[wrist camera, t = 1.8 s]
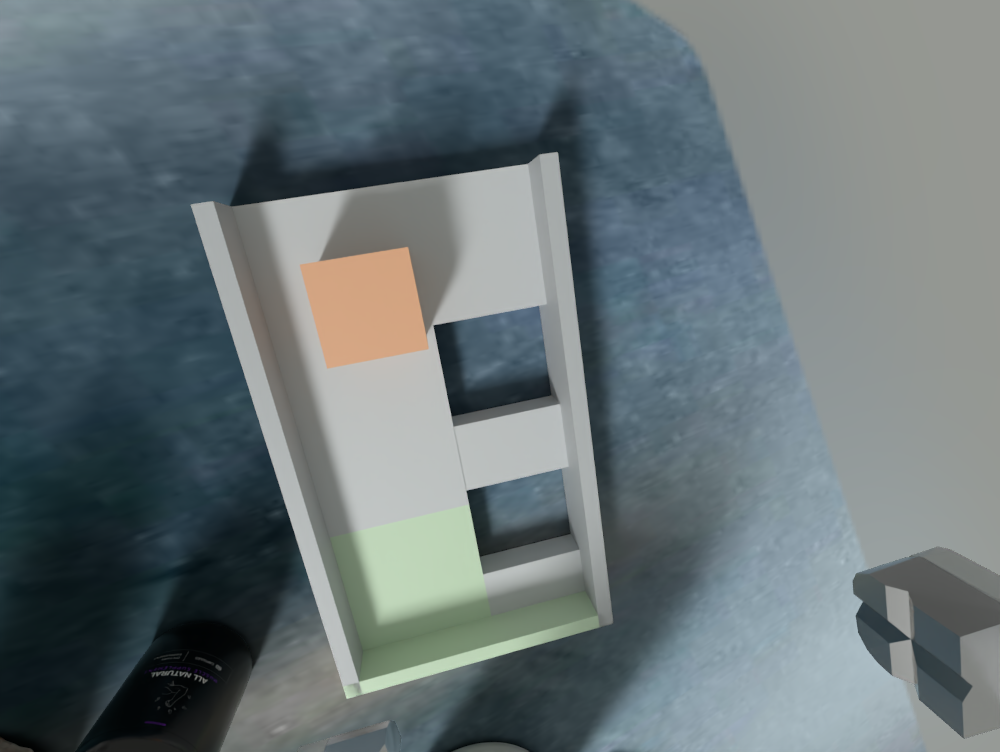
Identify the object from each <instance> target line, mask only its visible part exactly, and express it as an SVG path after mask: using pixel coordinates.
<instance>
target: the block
mask: <svg viewBox="0 0 1000 752" xmlns="http://www.w3.org/2000/svg"><path fill="white" fill-rule="evenodd" d="M300 269H301V272H302V276H303V280H304V284H305V287H306V291H307V295H308V299H309V302H310V306H311V310H312V314H313V317H314V321H315V325H316V329H317V332H318V336H319V340H320V344H321V347H322V351H323V355H324V359H325V362H326V366H327V369H328V368H333V367H338V366H344V365H349V364H354V363H359V362H364V361H370V360H375V359H380V358H385V357H390V356H396V355H401V354H406V353H411V352H416V351H422V350H427V349H429V346H428V341H427V335H426V330H425V325H424V321H423V316H422V311H421V306H420V301H419V296H418V291H417V286H416V282H415V277H414V272H413V267H412V262H411V257H410V252H409V248H408V247H404V248H398V249H392V250H386V251H380V252H374V253H367V254H361V255H355V256H349V257H343V258H337V259H331V260H325V261H319V262H312V263H306V264H300Z"/></svg>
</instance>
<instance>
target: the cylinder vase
mask: <svg viewBox="0 0 1000 752" xmlns="http://www.w3.org/2000/svg"><path fill="white" fill-rule="evenodd" d="M453 752H529V751H527V750H526V749H524V748H521V747H519V746H516V745H513V744H508V743H501V742H485V743H478V744H473V745H469V746H465V747H462V748H460V749H457V750H455V751H453Z"/></svg>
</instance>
